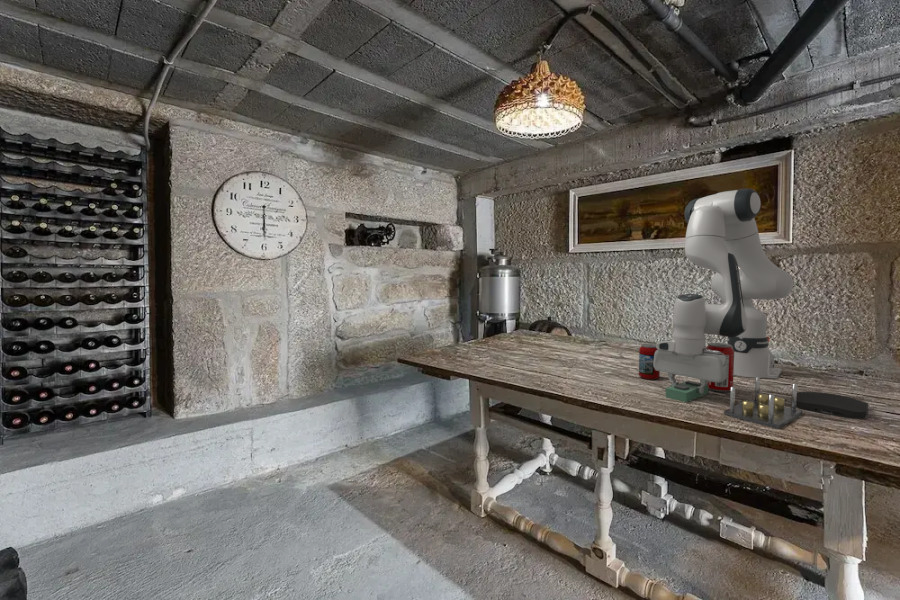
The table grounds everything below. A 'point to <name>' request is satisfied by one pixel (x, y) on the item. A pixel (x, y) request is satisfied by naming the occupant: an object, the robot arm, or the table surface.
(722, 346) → the soda can
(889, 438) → the table surface
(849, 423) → the table surface
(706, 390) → the board
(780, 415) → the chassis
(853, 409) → the media streaming box
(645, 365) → the beverage can
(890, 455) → the table surface
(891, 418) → the table surface
